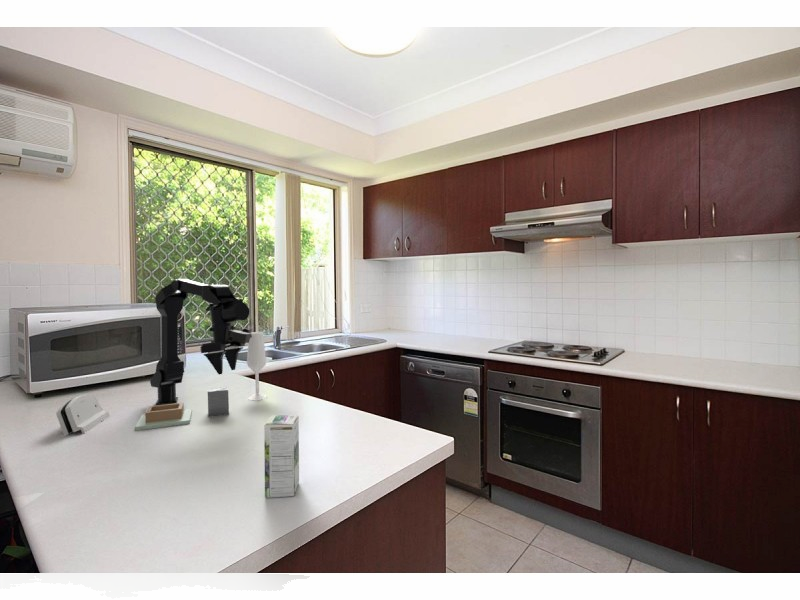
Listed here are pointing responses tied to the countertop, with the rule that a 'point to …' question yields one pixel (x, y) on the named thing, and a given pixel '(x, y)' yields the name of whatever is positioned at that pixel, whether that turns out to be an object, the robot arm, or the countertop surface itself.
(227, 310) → the robot arm
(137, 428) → the post socket
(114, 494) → the countertop surface
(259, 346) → the champagne flute
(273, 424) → the syrup box
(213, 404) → the brushed grey metal block
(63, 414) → the hinge
